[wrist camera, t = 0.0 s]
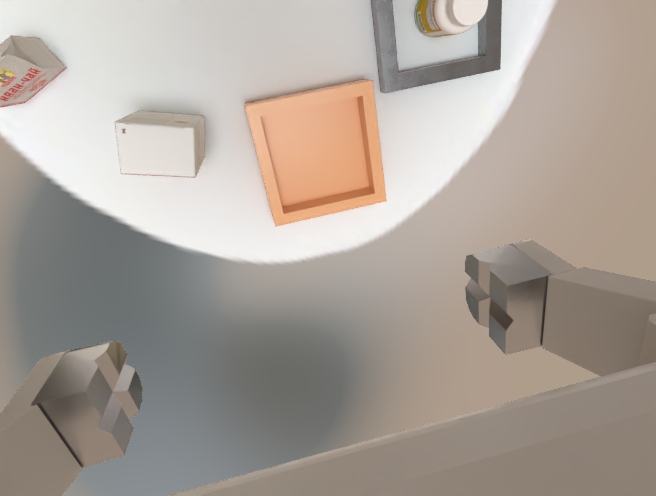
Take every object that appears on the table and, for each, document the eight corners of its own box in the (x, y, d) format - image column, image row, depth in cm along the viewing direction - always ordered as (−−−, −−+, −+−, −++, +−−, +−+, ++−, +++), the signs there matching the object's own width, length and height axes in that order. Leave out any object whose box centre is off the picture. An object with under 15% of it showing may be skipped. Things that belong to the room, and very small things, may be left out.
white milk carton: (-4, 75, 46) (-66, 79, 37) (39, 38, 45) (-14, 33, 36) (25, 102, 48) (-28, 112, 39) (66, 67, 47) (23, 69, 38)
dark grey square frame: (365, -52, 47) (369, -57, 45) (493, -75, 48) (503, -80, 46) (380, 91, 54) (385, 93, 52) (492, 68, 55) (500, 69, 53)
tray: (245, 103, 52) (244, 106, 48) (364, 79, 53) (372, 80, 49) (274, 216, 59) (275, 226, 55) (378, 192, 60) (386, 201, 56)
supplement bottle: (461, 0, 51) (504, -12, 42) (441, 44, 53) (478, 41, 44) (426, -20, 49) (462, -37, 41) (406, 26, 51) (437, 19, 42)
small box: (142, 154, 52) (118, 174, 43) (138, 109, 50) (111, 120, 41) (206, 158, 54) (196, 179, 44) (205, 114, 52) (194, 127, 42)
